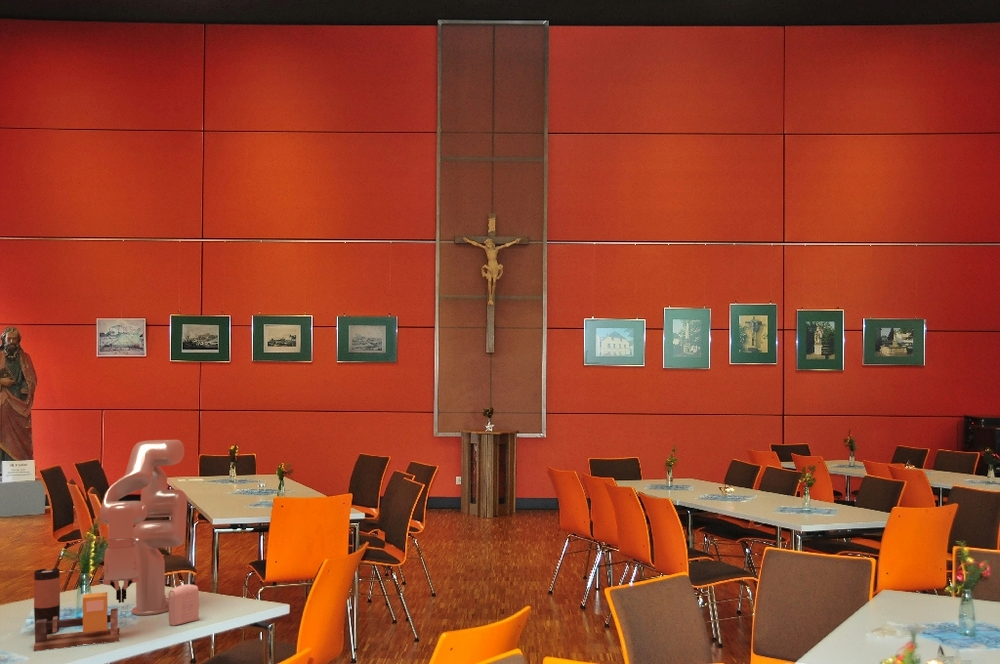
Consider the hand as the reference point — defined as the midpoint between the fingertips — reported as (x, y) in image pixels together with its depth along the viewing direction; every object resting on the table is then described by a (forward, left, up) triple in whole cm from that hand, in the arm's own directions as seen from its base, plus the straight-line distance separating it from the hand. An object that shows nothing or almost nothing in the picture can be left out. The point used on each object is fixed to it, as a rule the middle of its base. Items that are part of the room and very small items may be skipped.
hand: (121, 601), depth 306 cm
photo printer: (-19, -10, -11) cm, 24 cm away
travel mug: (+23, -17, -11) cm, 30 cm away
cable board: (+13, 0, -11) cm, 17 cm away
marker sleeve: (+8, 0, -8) cm, 11 cm away
